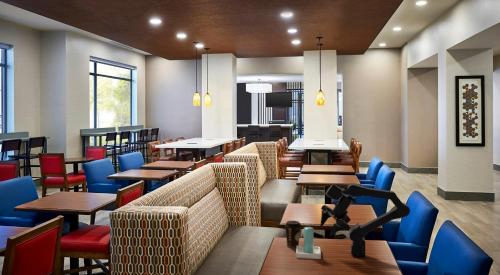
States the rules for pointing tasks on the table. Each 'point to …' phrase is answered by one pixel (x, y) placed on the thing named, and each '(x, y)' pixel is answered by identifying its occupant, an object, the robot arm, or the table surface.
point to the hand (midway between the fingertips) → (325, 230)
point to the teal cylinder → (308, 240)
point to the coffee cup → (292, 233)
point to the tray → (314, 255)
